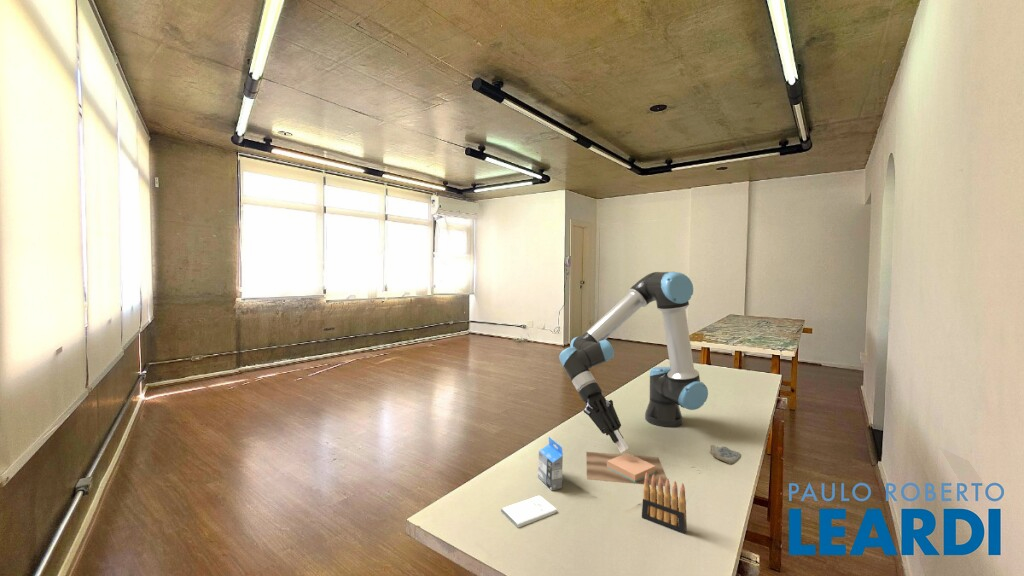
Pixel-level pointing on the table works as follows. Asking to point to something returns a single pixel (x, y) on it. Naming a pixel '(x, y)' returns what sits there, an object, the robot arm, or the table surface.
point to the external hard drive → (528, 511)
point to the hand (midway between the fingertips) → (624, 450)
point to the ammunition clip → (664, 505)
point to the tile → (631, 467)
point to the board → (601, 472)
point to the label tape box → (551, 465)
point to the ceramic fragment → (725, 454)
